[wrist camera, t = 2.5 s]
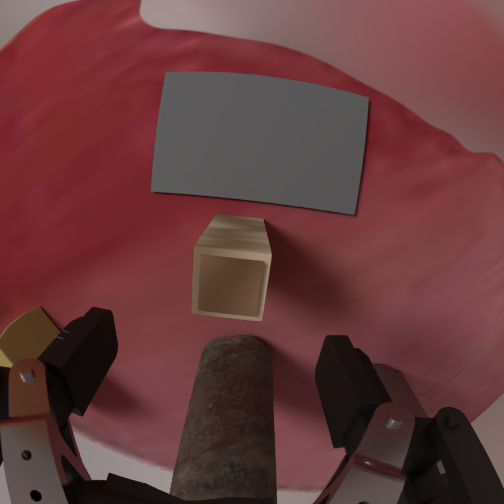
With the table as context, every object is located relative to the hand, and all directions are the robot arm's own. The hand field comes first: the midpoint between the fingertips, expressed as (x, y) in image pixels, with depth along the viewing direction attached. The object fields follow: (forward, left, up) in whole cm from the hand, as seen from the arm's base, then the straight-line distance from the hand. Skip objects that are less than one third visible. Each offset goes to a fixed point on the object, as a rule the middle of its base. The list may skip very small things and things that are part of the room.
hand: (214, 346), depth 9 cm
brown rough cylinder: (-1, +13, -16) cm, 20 cm away
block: (0, 0, -15) cm, 15 cm away
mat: (-1, -9, -15) cm, 18 cm away
